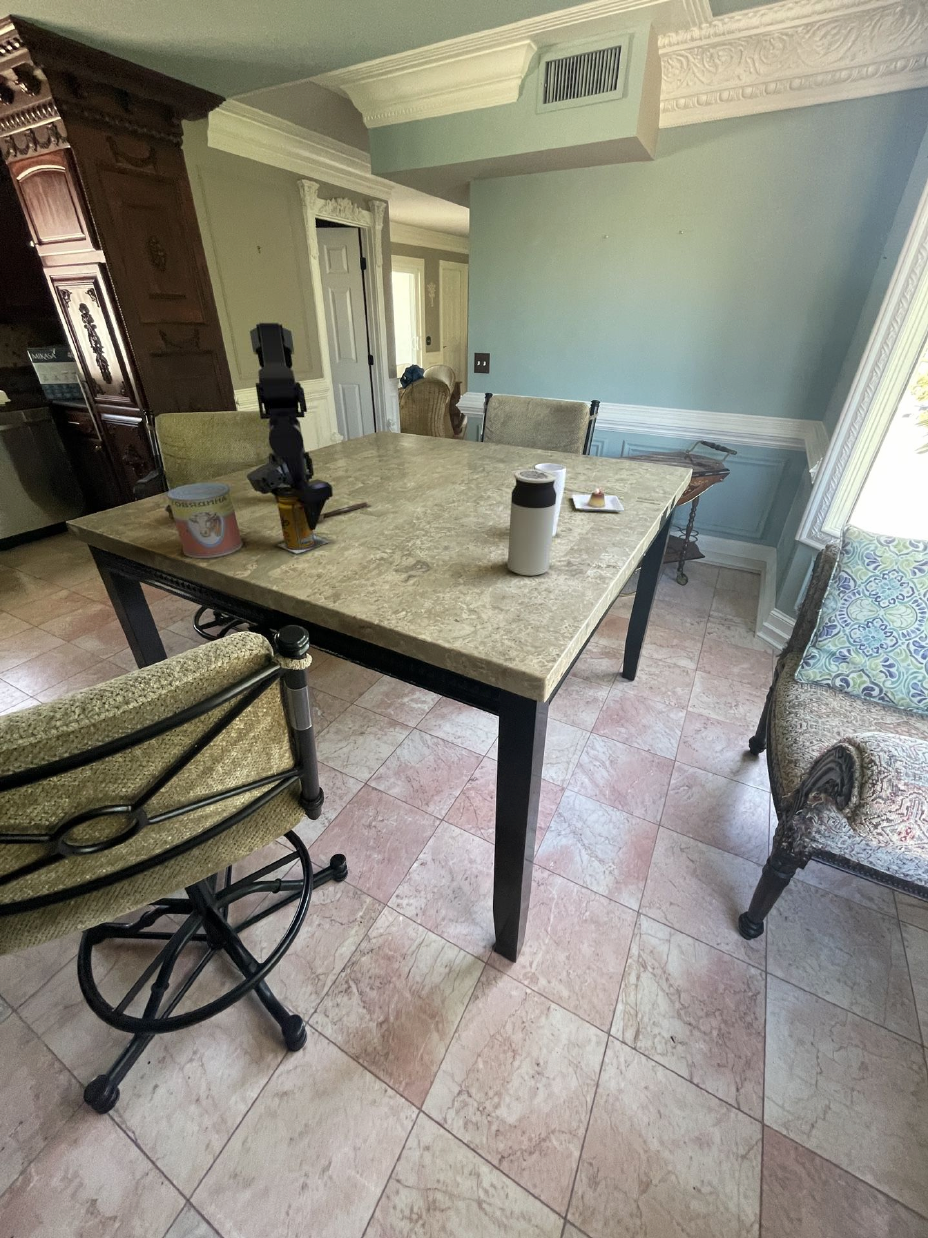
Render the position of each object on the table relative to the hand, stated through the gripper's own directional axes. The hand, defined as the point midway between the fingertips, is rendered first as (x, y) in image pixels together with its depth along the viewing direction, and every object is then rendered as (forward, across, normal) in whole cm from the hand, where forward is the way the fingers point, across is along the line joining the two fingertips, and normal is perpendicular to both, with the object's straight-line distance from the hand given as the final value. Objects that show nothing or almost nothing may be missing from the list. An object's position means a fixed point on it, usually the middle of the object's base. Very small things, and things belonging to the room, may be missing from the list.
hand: (300, 524), depth 104 cm
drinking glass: (+4, +34, +40) cm, 53 cm away
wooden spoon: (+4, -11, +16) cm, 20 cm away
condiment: (+4, 0, 0) cm, 5 cm away
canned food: (+4, -12, -14) cm, 19 cm away
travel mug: (+5, +42, +23) cm, 48 cm away
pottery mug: (+4, -31, -9) cm, 32 cm away
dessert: (+4, +32, +67) cm, 74 cm away
